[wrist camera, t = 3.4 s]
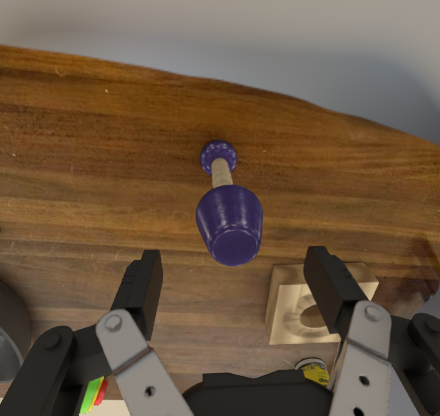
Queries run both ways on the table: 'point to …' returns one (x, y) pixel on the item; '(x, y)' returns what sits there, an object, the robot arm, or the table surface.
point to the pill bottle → (314, 370)
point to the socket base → (303, 305)
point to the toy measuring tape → (94, 394)
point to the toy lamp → (228, 210)
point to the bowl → (12, 334)
